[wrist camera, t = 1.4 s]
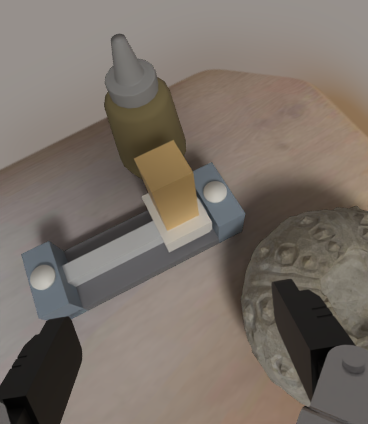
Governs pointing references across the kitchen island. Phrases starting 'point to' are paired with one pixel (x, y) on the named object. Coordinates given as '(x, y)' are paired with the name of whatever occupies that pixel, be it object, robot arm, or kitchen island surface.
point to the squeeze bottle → (138, 106)
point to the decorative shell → (308, 283)
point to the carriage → (172, 196)
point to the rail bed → (134, 265)
